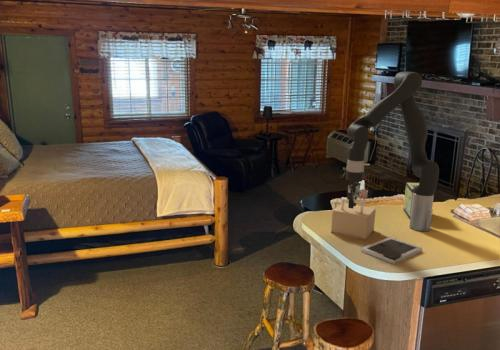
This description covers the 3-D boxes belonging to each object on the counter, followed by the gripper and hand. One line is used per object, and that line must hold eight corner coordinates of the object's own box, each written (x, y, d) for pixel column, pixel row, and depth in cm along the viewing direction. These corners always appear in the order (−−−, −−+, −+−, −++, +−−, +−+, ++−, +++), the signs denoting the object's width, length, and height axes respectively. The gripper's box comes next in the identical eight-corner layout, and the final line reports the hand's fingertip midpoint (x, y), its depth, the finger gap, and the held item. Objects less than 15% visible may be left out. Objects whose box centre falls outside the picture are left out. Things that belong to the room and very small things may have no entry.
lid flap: (375, 209, 221) (376, 196, 219) (367, 218, 209) (368, 203, 207) (342, 204, 228) (343, 190, 227) (332, 211, 216) (333, 197, 215)
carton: (373, 230, 223) (375, 210, 221) (365, 239, 211) (367, 218, 209) (340, 224, 231) (342, 204, 228) (331, 232, 219) (332, 212, 216)
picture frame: (393, 265, 187) (421, 252, 200) (394, 258, 186) (422, 246, 200) (360, 252, 199) (389, 241, 212) (361, 246, 198) (390, 235, 211)
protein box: (422, 210, 254) (426, 182, 250) (430, 220, 239) (434, 190, 235) (402, 209, 255) (405, 181, 251) (409, 219, 240) (412, 189, 236)
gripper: (358, 174, 203) (355, 212, 207) (367, 167, 215) (364, 204, 219) (341, 171, 206) (339, 209, 210) (351, 165, 218) (348, 201, 222)
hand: (352, 206), depth 214 cm, fingers open, 3 cm apart
